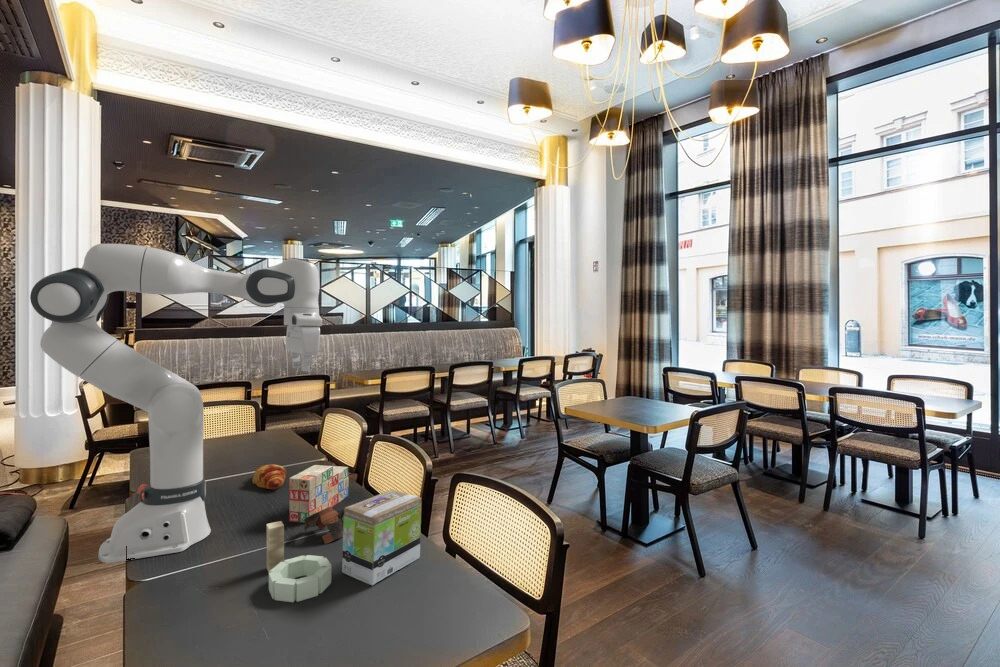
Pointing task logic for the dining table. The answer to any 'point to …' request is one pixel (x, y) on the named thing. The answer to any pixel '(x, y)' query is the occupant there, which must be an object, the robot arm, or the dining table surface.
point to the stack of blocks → (316, 490)
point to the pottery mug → (327, 523)
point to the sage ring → (302, 588)
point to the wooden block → (275, 544)
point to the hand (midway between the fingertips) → (300, 369)
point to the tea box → (381, 535)
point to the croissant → (269, 476)
